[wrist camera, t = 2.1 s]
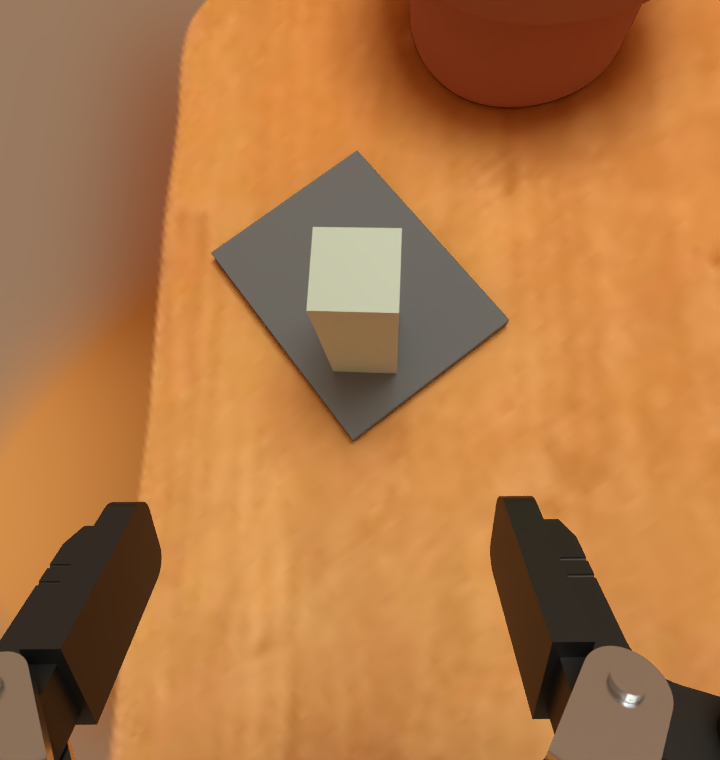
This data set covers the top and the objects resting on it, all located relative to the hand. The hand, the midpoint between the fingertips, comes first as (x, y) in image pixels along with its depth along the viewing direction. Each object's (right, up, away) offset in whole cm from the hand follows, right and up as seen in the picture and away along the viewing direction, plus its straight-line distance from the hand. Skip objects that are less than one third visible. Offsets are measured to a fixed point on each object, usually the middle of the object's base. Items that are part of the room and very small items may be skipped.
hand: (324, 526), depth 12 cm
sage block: (+1, +6, +25) cm, 26 cm away
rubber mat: (0, +10, +27) cm, 29 cm away
